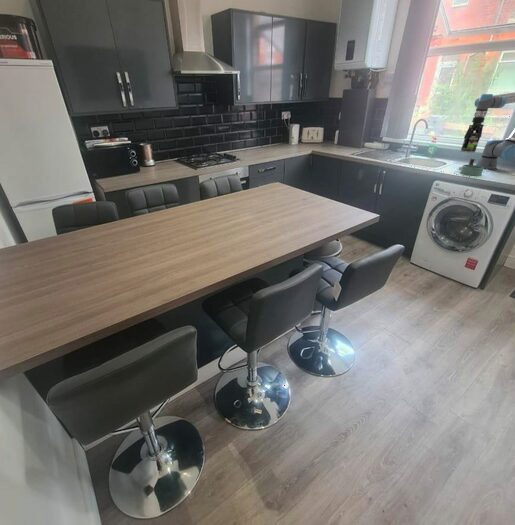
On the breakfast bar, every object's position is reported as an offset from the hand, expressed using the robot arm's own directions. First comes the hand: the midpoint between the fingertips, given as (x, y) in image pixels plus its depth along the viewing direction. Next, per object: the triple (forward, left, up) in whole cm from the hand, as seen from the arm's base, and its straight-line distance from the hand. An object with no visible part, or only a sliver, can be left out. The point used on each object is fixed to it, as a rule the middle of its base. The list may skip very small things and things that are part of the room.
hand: (469, 147), depth 237 cm
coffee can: (0, 0, -3) cm, 3 cm away
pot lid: (-14, 0, -19) cm, 24 cm away
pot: (+1, +8, -20) cm, 21 cm away
